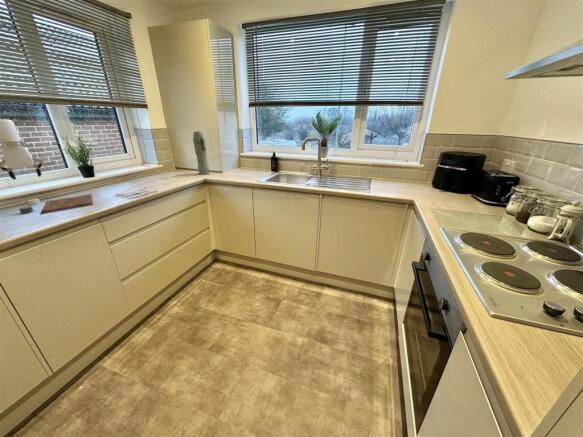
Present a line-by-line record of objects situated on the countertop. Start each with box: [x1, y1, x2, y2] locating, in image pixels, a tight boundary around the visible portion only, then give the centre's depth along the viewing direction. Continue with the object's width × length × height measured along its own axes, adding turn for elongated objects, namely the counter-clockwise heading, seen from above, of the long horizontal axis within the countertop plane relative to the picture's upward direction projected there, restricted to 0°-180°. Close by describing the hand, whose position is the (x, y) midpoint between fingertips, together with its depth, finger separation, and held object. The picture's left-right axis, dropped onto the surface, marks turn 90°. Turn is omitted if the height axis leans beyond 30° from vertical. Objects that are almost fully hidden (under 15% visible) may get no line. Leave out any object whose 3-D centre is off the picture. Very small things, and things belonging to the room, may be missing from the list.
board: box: [39, 193, 94, 215], centre depth 136 cm, size 22×22×2 cm
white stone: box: [27, 198, 41, 206], centre depth 134 cm, size 4×4×4 cm
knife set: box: [114, 181, 178, 199], centre depth 161 cm, size 26×35×1 cm
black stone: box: [18, 205, 34, 215], centre depth 121 cm, size 4×4×4 cm
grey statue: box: [192, 130, 210, 176], centre depth 203 cm, size 9×12×35 cm
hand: (27, 177), depth 130 cm, fingers open, 9 cm apart
